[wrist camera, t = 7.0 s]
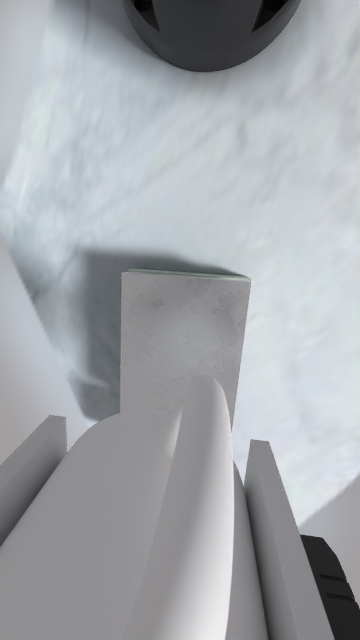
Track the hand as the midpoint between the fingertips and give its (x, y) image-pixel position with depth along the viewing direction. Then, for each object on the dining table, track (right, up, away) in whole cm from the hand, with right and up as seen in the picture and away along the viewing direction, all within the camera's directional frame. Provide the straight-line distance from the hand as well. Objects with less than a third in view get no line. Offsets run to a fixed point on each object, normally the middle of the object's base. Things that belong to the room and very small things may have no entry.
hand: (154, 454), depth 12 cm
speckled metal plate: (+1, +3, +13) cm, 14 cm away
